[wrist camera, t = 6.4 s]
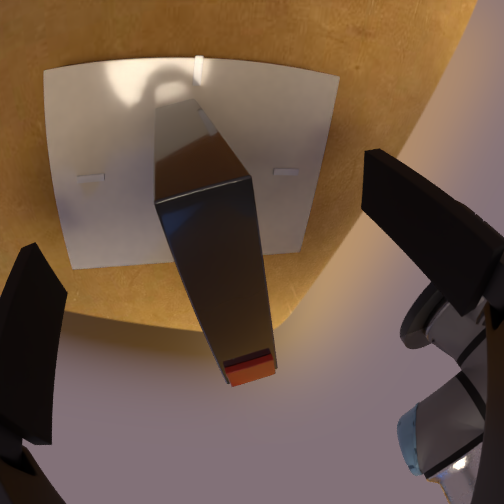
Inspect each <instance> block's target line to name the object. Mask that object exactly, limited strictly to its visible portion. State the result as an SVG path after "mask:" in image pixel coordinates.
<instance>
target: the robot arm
mask: <svg viewBox="0 0 504 504" xmlns="http://www.w3.org/2000/svg"><path fill="white" fill-rule="evenodd" d="M361 209H362V210H363V211H364V212H365V213H366V214H367V215H368V216H369V217H370V218H371V219H372V220H373V221H374V222H375V223H376V224H377V225H378V226H379V227H380V228H381V229H382V230H383V231H384V232H385V233H386V234H388V236H390V238H392V240H393V241H394V242H395V243H396V244H397V245H398V246H399V247H400V248H401V249H402V250H403V251H404V252H405V253H406V254H407V255H408V256H409V258H410V259H412V261H413V262H414V263H415V264H416V265H417V266H418V267H419V268H420V269H421V270H422V272H423V273H424V274H425V275H426V276H427V277H428V278H429V279H430V280H431V282H432V283H433V284H434V285H435V286H436V287H437V289H438V290H439V291H440V292H441V293H442V294H443V295H444V297H443V298H442V299H441V300H440V301H439V303H438V304H437V305H436V306H435V308H434V309H433V310H432V312H431V313H430V315H429V316H428V318H427V320H426V322H425V324H424V326H423V334H424V335H425V337H426V338H427V339H428V341H430V342H431V343H432V344H434V345H436V346H437V347H438V348H439V349H441V350H442V351H444V352H445V353H447V354H448V355H450V356H451V357H452V358H454V359H455V361H456V362H457V364H458V365H459V366H460V368H461V370H462V371H460V372H459V373H458V374H457V375H456V376H455V377H453V378H452V379H451V380H449V381H448V382H447V383H446V384H444V385H443V386H442V387H441V388H440V389H438V390H437V391H435V392H434V393H433V394H431V395H430V396H429V397H427V398H426V399H424V400H423V401H422V402H420V403H417V404H416V406H415V407H413V408H412V409H411V410H409V411H408V412H407V413H405V414H404V415H403V416H402V417H401V418H400V419H399V422H398V425H397V434H398V440H399V445H400V448H401V451H402V454H403V457H404V459H405V462H406V464H407V465H408V467H409V469H410V471H411V472H412V474H413V475H415V476H417V475H422V474H424V475H425V477H426V479H427V481H430V482H435V483H438V484H440V485H441V488H442V490H443V492H444V494H445V496H446V498H447V500H448V502H449V504H504V237H503V236H502V235H500V234H499V233H498V232H497V231H496V230H495V229H494V228H492V227H491V226H490V225H489V224H488V223H487V222H485V221H483V219H482V218H480V217H479V216H478V215H477V214H476V215H475V213H474V212H473V211H472V210H471V209H469V208H468V207H467V206H466V205H464V204H462V203H460V202H458V201H456V200H454V199H453V198H452V197H451V196H449V195H448V194H447V193H445V192H444V191H443V190H441V189H440V188H438V187H437V186H436V185H434V184H433V183H431V182H430V181H429V180H427V179H426V178H424V177H423V176H422V175H420V174H419V173H417V172H416V171H414V170H413V169H411V168H410V167H408V166H407V165H405V164H404V163H402V162H400V161H399V160H397V159H396V158H394V157H393V156H391V155H389V154H388V153H386V152H385V151H383V150H381V149H380V148H379V149H373V150H367V151H365V153H364V175H363V191H362V204H361ZM67 294H68V293H67V291H66V290H65V288H64V287H63V285H62V284H61V282H60V281H59V279H58V278H57V276H56V275H55V273H54V272H53V270H52V268H51V267H50V265H49V264H48V262H47V260H46V259H45V257H44V256H43V254H42V252H41V251H40V249H39V247H38V245H37V244H36V242H35V243H32V244H30V245H27V246H25V247H23V248H21V250H20V252H19V254H18V257H17V259H16V261H15V263H14V265H13V268H12V270H11V272H10V275H9V277H8V279H7V282H6V284H5V287H4V289H3V292H2V295H1V297H0V504H66V503H65V501H64V500H63V499H62V498H61V496H60V495H59V494H58V493H57V491H56V490H55V488H54V487H53V486H52V485H51V483H50V482H49V480H48V479H47V477H46V476H45V475H44V473H43V472H42V470H41V468H40V467H39V465H38V464H37V462H36V461H35V459H34V458H33V456H32V454H31V453H30V452H29V450H28V449H27V448H26V447H25V446H23V445H22V438H23V439H25V440H27V441H29V442H30V443H32V444H34V445H51V444H52V408H53V392H54V380H55V369H56V360H57V352H58V345H59V338H60V332H61V326H62V319H63V314H64V309H65V304H66V299H67Z"/></svg>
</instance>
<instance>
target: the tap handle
mask: <svg viewBox="0 0 504 504" xmlns="http://www.w3.org/2000/svg"><path fill="white" fill-rule="evenodd" d="M153 203H154V206H155V209H156V212H157V215H158V218H159V221H160V224H161V226H162V229H163V232H164V235H165V238H166V240H167V243H168V246H169V248H170V251H171V254H172V256H173V259H174V262H175V264H176V267H177V270H178V272H179V275H180V277H181V280H182V282H183V285H184V287H185V290H186V292H187V295H188V297H189V300H190V302H191V305H192V307H193V309H194V312H195V314H196V317H197V319H198V321H199V324H200V326H201V328H202V331H203V333H204V335H205V337H206V340H207V342H208V344H209V347H210V349H211V351H212V353H213V356H214V358H215V360H216V362H217V364H218V367H219V368H220V371H221V373H222V375H223V377H224V379H225V382H226V383H227V384H231V386H232V387H234V386H237V385H241V384H244V383H247V382H251V381H254V380H257V379H261V378H263V377H267V376H270V375H273V374H275V369H277V359H276V352H275V344H274V336H273V328H272V320H271V312H270V305H269V297H268V290H267V282H266V275H265V267H264V260H263V252H262V245H261V238H260V230H259V223H258V216H257V209H256V202H255V194H254V187H253V180H252V176H251V175H250V173H249V172H248V170H247V169H246V168H245V166H244V165H243V163H242V162H241V161H240V159H239V158H238V156H237V155H236V154H235V152H234V151H233V150H232V148H231V147H230V145H229V144H228V143H227V141H226V140H225V139H224V137H223V136H222V134H221V133H220V132H219V130H218V129H217V128H216V126H215V125H214V124H213V122H212V121H211V120H210V118H209V117H208V116H207V114H206V113H205V112H204V110H203V109H202V108H201V106H200V105H199V104H198V102H197V101H196V100H195V99H189V100H185V101H181V102H177V103H173V104H170V105H166V106H162V107H159V108H156V109H155V124H154V156H153Z"/></svg>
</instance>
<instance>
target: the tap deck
mask: <svg viewBox="0 0 504 504" xmlns="http://www.w3.org/2000/svg"><path fill="white" fill-rule="evenodd" d="M339 78H340V77H339V76H336V75H331V74H327V73H323V72H319V71H314V70H309V69H304V68H298V67H292V66H286V65H280V64H273V63H265V62H257V61H248V60H238V59H225V58H209V57H204V56H197V55H195V57H141V58H125V59H113V60H103V61H94V62H87V63H80V64H73V65H67V66H61V67H57V68H52V69H48V70H44V107H45V123H46V135H47V145H48V153H49V161H50V168H51V175H52V181H53V187H54V193H55V198H56V204H57V209H58V213H59V218H60V223H61V227H62V231H63V236H64V240H65V244H66V248H67V251H68V255H69V259H70V262H71V266H72V269H73V270H74V269H88V268H101V267H115V266H128V265H141V264H155V263H168V262H174V259H173V256H172V254H171V251H170V248H169V246H168V243H167V240H166V238H165V235H164V232H163V229H162V226H161V224H160V221H159V218H158V215H157V212H156V209H155V206H154V203H153V156H154V124H155V109H156V108H159V107H162V106H166V105H170V104H173V103H177V102H181V101H185V100H189V99H195V100H196V101H197V102H198V104H199V105H200V106H201V108H202V109H203V110H204V112H205V113H206V114H207V116H208V117H209V118H210V120H211V121H212V122H213V124H214V125H215V126H216V128H217V129H218V130H219V132H220V133H221V134H222V136H223V137H224V139H225V140H226V141H227V143H228V144H229V145H230V147H231V148H232V150H233V151H234V152H235V154H236V155H237V156H238V158H239V159H240V161H241V162H242V163H243V165H244V166H245V168H246V169H247V170H248V172H249V173H250V175H251V176H252V180H253V187H254V194H255V202H256V209H257V216H258V223H259V230H260V238H261V245H262V252H263V255H270V254H283V253H295V252H300V250H301V246H302V242H303V238H304V234H305V230H306V227H307V223H308V219H309V215H310V211H311V206H312V202H313V198H314V194H315V190H316V186H317V182H318V177H319V173H320V169H321V164H322V160H323V155H324V151H325V146H326V142H327V137H328V133H329V128H330V123H331V119H332V114H333V109H334V104H335V99H336V94H337V89H338V84H339Z"/></svg>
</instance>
